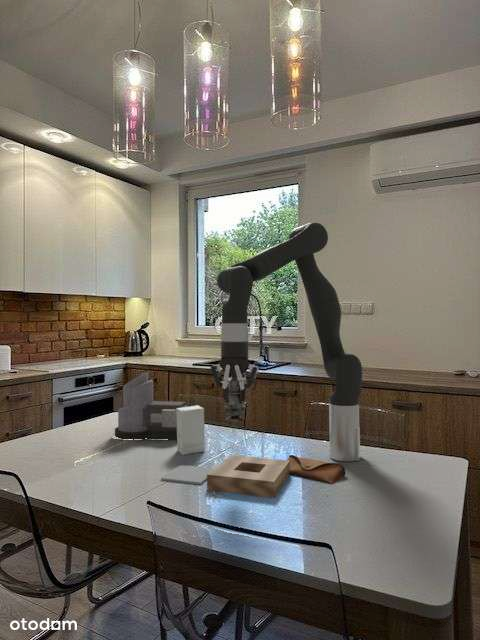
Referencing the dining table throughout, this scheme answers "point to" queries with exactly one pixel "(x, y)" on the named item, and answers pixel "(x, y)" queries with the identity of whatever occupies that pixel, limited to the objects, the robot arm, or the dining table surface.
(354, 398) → the robot arm
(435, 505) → the dining table surface
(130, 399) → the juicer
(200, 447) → the skincare box
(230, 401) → the grey stone ornament
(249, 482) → the pocket holder
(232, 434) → the dining table surface
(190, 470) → the grey mat
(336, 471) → the sunglasses case
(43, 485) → the dining table surface
